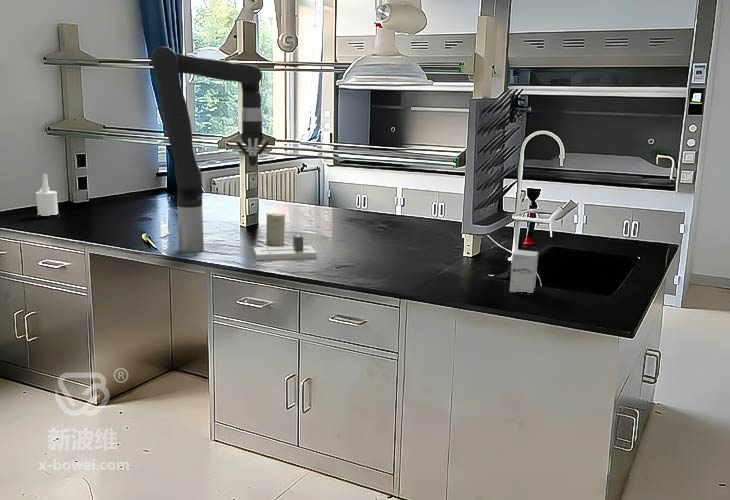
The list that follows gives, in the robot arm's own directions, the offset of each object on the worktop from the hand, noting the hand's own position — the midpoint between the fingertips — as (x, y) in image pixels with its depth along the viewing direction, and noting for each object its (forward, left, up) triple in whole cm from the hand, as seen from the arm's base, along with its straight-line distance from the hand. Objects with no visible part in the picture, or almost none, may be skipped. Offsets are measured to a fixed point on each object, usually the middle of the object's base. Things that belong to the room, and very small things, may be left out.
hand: (252, 165), depth 269 cm
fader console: (+10, -16, -32) cm, 37 cm away
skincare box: (+9, +4, -32) cm, 34 cm away
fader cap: (+15, -16, -30) cm, 37 cm away
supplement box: (+78, -76, -32) cm, 114 cm away
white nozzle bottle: (-89, +80, -32) cm, 124 cm away
